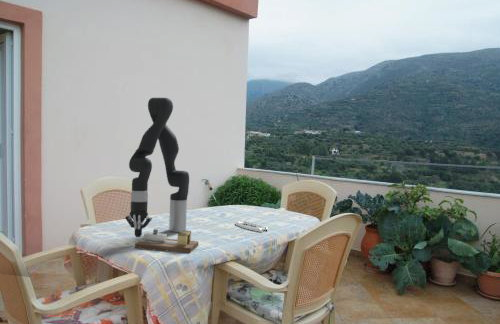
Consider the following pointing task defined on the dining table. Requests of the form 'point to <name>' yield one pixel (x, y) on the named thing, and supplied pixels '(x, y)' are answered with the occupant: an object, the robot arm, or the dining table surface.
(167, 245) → the door panel
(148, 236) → the bolt
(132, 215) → the robot arm
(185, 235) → the keeper
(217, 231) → the dining table surface
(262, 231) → the door handle
